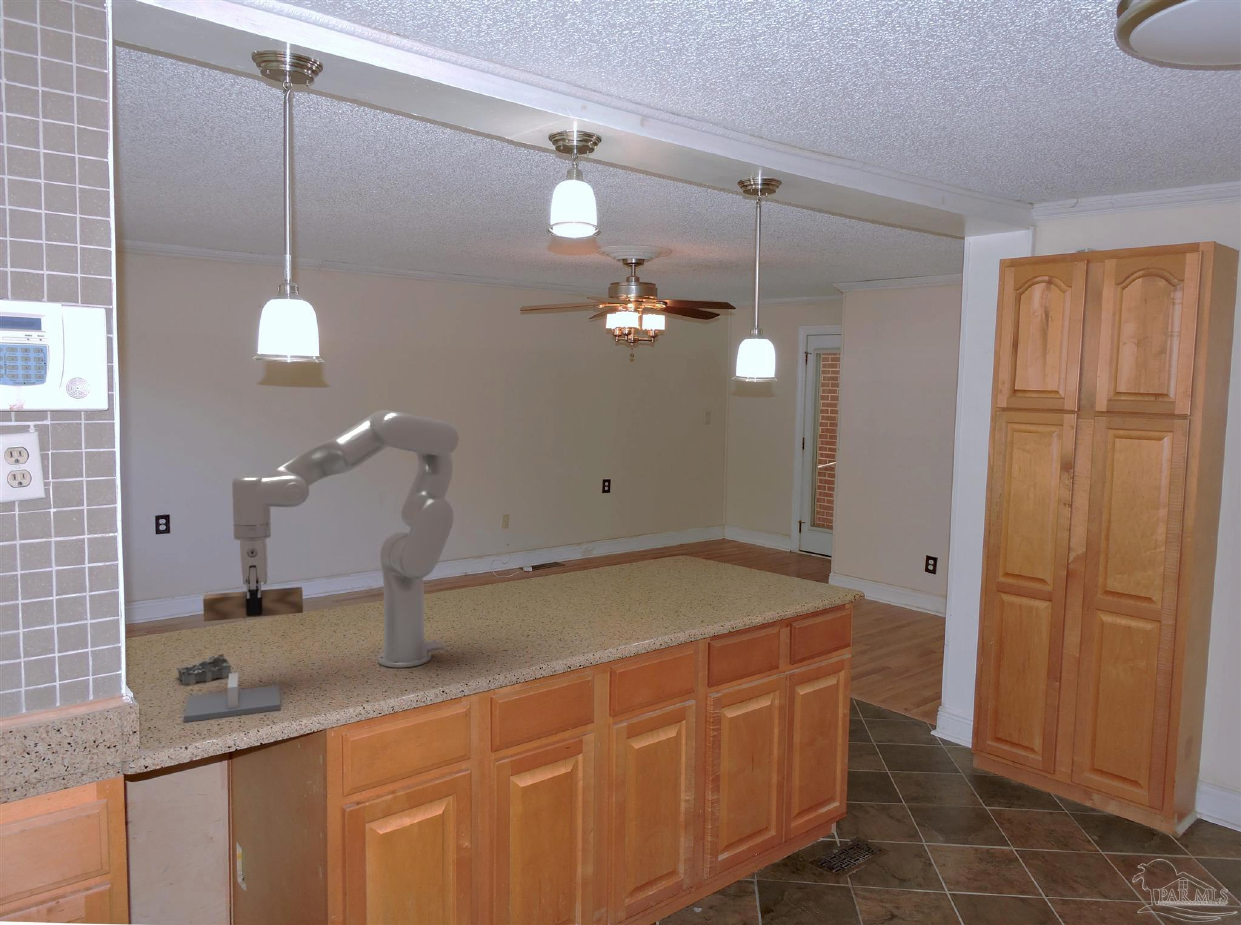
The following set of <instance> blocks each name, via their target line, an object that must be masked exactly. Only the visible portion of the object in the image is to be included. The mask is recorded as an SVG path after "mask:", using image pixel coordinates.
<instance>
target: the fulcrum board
mask: <svg viewBox="0 0 1241 925" xmlns="http://www.w3.org/2000/svg"><path fill="white" fill-rule="evenodd" d="M239 686H240V685H239V672H231V673H229V676H228V680H227V690H226V691H219V692H211V693H210V692H209V693H201V694H200V693H199V694H194V695H188V696H187V699H186V703H185V709H184V713H183V723H188V722H189V723H190V722H197V721H206V720H212V719H213V720H214V719H221V718H229V717H235V716H244V715H249V714H250V715H251V714H260V713H261V714H262V713H267V712H274V711H281V697H280V696H281V695H280V685H279V684H277V685H271V686H270V685H269V686H267V685H266V686H259V687H252V688H245V689H244V688H242V689H239Z"/></svg>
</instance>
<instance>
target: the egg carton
mask: <svg viewBox="0 0 1241 925" xmlns="http://www.w3.org/2000/svg"><path fill="white" fill-rule="evenodd" d="M231 668H232V664H231V663H230V662H229V661H228V659H227V658H226V657H225V655H224V653H221V654H216V655H212V656H211V657H209V658H208V659H207V660H202V661H201V662H197V663H192V664H190V665H187V666H184V667H183V666H181V667H176V670H177V672H178V680H179V681H181V682H182V683H181V684H182V685H190V686H192V685H195V684H197V683H198V682H212V680H213V679H214V680H215V679H218V678H219V679H226V678H228V677H229V673H232V672H231V670H232V669H231Z"/></svg>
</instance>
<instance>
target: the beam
mask: <svg viewBox="0 0 1241 925" xmlns="http://www.w3.org/2000/svg"><path fill="white" fill-rule="evenodd" d="M260 591H261V597H262V615H258V616H247V615H246V598H247V590H243V591H232V592H219V593H207V594H203V599H202V603H203V604H202V607H203V608H202V609H203V622H212V621H213V622H214V621H225V620H237V619H248V618H260V617H272V616H282V615H283V616H284V615H292V614H294V615H295V614H303V613H304V602H303V601H304V598H303V597H304V596H303V587H302V586H295V587H281V588H271V589H270V588H269V589H261V590H260Z"/></svg>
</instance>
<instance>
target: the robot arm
mask: <svg viewBox="0 0 1241 925" xmlns="http://www.w3.org/2000/svg"><path fill="white" fill-rule="evenodd" d="M458 444H459V433H458V430H457V429H456V427H455V426H454V425H453V424H451V422H450V423H449V422H448V421H445V420H438V419H433V418H429V417H424V416H423V417H422V416H419V415H414V414H409V413H406V412H402V411H396V410H388V409H381V410H378V411H375V412H373V413H371V414H370V415H368V416H367V417H365V418H364V419H362V420H360V421H359V422H356V423H355V424H354V425H352V426H350V427H348V428H347V429H346V430H344V431H342V432H341V433H339V434H338V435H336V436H334V437H332V438H331V439H329V440H327V441H325V442H323V443H320V444H318V445H317V446H315V447H312V448H311V449H308V450H307V451H305V452H302V453H300V454H299V455H297V456H295V457H293V458H291V459H290V460H288V461H287V462H285V463H283V464H282V465H281V466H279V467H277V468H276V469H274V470H273V471H271V472H270V473H269V474H268V475H267V476H266V475H263V474H242V475H238V476H236V477H234V478H233V480H232V482H231V486H232V487H231V488H232V491H231V492H232V493H231V494H232V517H233V519H232V520H233V539H234V540H235V541H239V548H240V549H239V552H240V554H239V555H240V568H241V577H242V584H243V585H245V586H246V591H247V598H246V615H247V616H258V615H262V597H261V591H260V590H262V583H263V585H266V584H267V583H268V548H267V539H270V538H271V537H272V530H271V529H272V526H271V525H272V522H271V521H272V520H271V518H272V517H271V507H273V508H296V507H299V506H301V505H302V504H304V503H305V502H306V501H307V499H308V498H309V495H310V486H312V485H313V484H314V483H316V482H319V481H321V480H323V479H325V478H328V477H331V476H334V475H341V474H344V473H348V472H350V471H353V470H354V469H356V468H357V467H360V465H362V464H364V463H365V462H367V461H368V460H370V459H372V458H373V457H375V456H376V455H377V454H379V453H380V452H382V451H384V450H385V449H387V448H394V449H399V450H401V451H402V450H403V451H408V452H412V453H413V452H414V453H416V456H417V461H418V463H417V464H418V465H417V469H416V473H415V476H414V479H413V482H412V483H411V487H409V488H410V489H409V492H408V493H407V496H406V498H405V500H404V503H403V505H402V508H401V516H400V517H401V519H402V521H403V523H404V524H405V525H406V526H408V528H410V529H409V532H401V531H400V532H395V533H393V534H391V535H389V536H388V537H387V538H386V539H385V540H384V542H383V543H382V545H381V549H380V554H379V556H380V564H381V565H380V566H381V572H382V580H383V626H384V628H383V629H384V630H383V632H384V634H383V635H384V641H383V642H384V651H383V652H380V654H379V655H378V656H377V661H378V663H379V664H380V665H382V666H385V667H388V668H411V667H416V666H419V665H423V664H426V663H427V662H429V661H430V660H431V658H432V657H431V656H432V655H431V652H432V651H442V650H443V651H444V647H445V646H444V641H438V642H437V640H431V641H428V640H426V639H425V614H424V613H425V606H424V605H425V587H424V578H426V577H428V576H429V575H430V574H431V573H432V572H433V571H434V570H435V568H436V566H437V565H438V562H439V560H440V557H441V555H442V554H443V550H444V548H445V545H446V543H447V540H448V538H449V535H450V533H451V530H452V528H453V523H454V510H453V506H452V505H451V503H450V502H449V501H448V500H447V499H445V498H446V494H447V492H448V490H449V487H450V484H451V481H452V477H453V470H454V467H453V466H454V465H453V458H452V455H451V454H452V453H453V452H454V451H455V450H456V448H457V447H458Z"/></svg>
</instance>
